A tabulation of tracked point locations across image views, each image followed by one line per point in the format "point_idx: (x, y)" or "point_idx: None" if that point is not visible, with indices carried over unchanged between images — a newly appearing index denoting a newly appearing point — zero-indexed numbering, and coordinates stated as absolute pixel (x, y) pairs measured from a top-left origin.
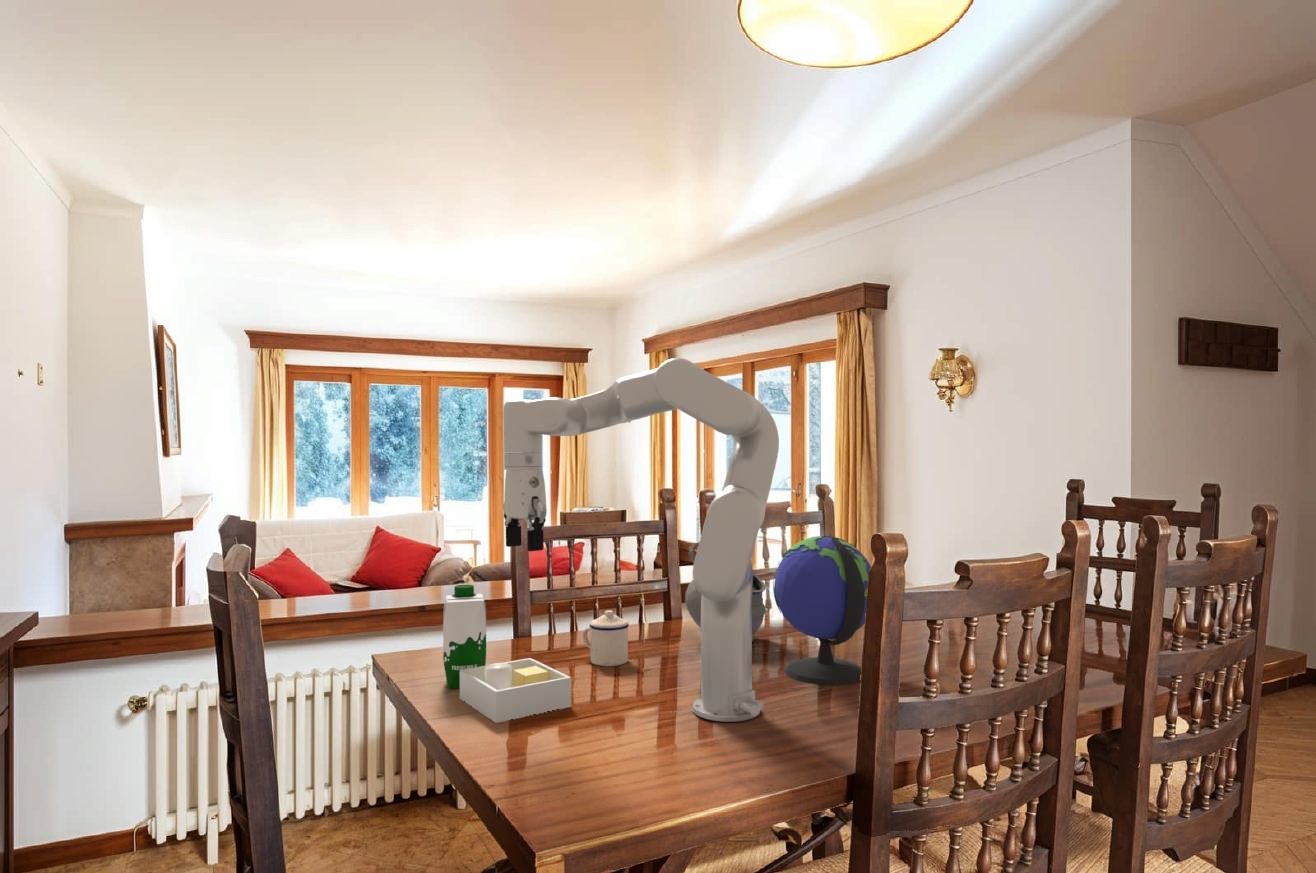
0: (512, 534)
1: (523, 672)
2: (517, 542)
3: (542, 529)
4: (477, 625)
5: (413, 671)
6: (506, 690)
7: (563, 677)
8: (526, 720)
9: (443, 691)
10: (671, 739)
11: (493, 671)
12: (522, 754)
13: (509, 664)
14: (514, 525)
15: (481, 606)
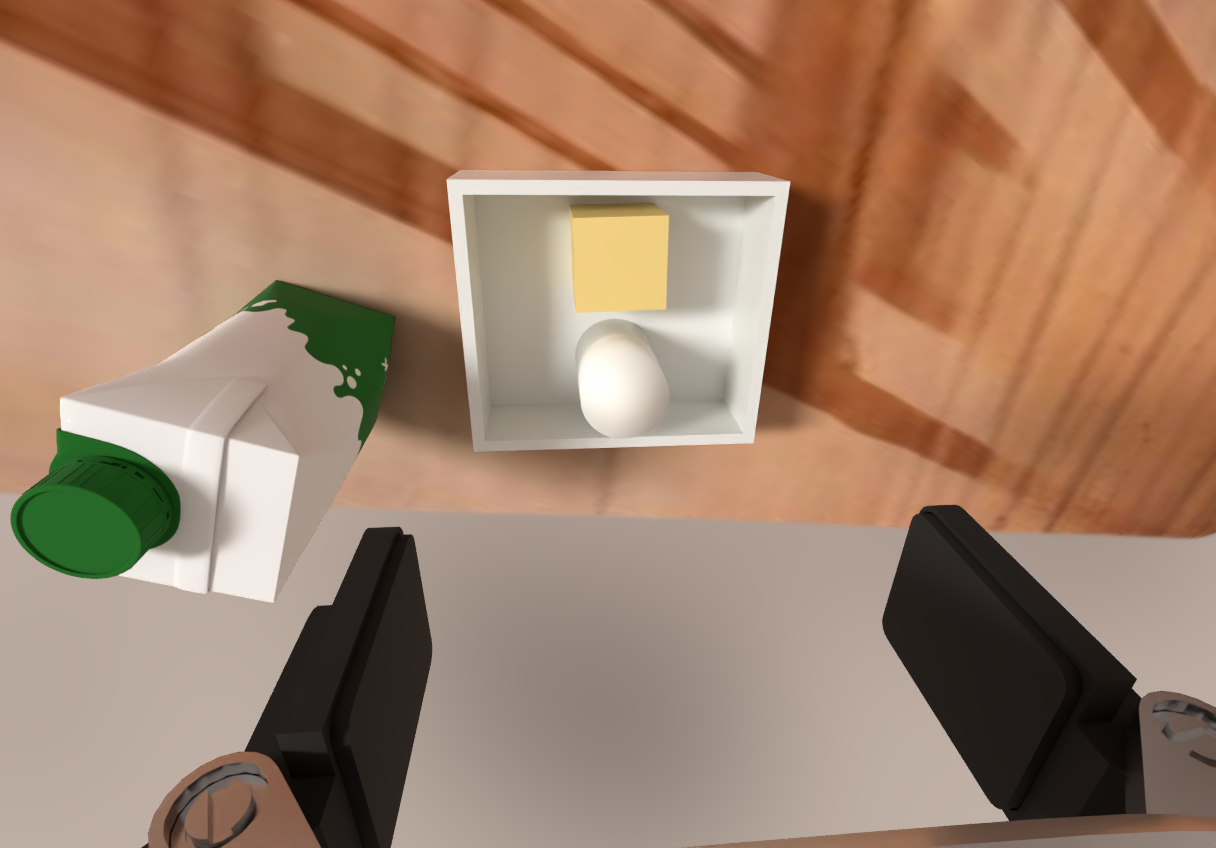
0: (398, 725)
1: (624, 296)
2: (411, 590)
3: (1178, 711)
4: (337, 424)
5: None
6: (757, 413)
7: (754, 195)
8: None
9: (387, 425)
10: (1176, 72)
11: (654, 423)
12: (934, 428)
13: (626, 359)
14: (342, 829)
15: (310, 451)
